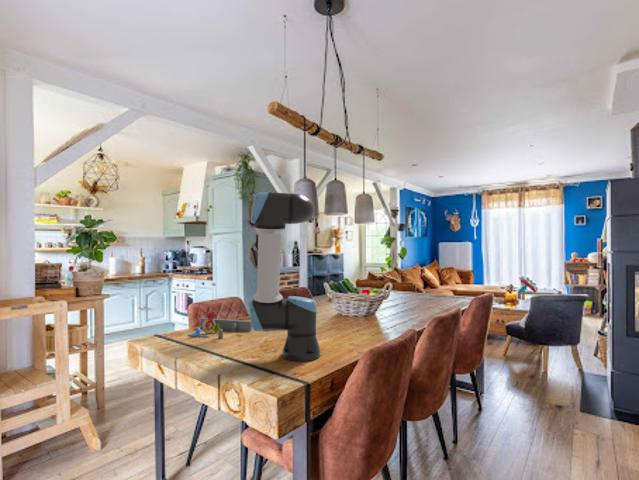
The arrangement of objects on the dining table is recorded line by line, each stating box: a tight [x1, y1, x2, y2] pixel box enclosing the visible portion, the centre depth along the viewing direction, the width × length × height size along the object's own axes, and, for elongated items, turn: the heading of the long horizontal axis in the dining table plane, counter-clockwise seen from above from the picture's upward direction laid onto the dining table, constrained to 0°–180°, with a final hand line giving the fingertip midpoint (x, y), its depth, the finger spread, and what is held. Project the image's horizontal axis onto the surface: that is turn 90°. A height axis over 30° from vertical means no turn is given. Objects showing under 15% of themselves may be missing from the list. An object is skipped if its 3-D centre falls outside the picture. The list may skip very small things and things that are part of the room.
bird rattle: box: [201, 311, 221, 335], centre depth 175 cm, size 6×11×9 cm
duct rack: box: [187, 317, 253, 340], centre depth 175 cm, size 18×28×5 cm, turn 77°
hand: (262, 280), depth 179 cm, fingers closed
